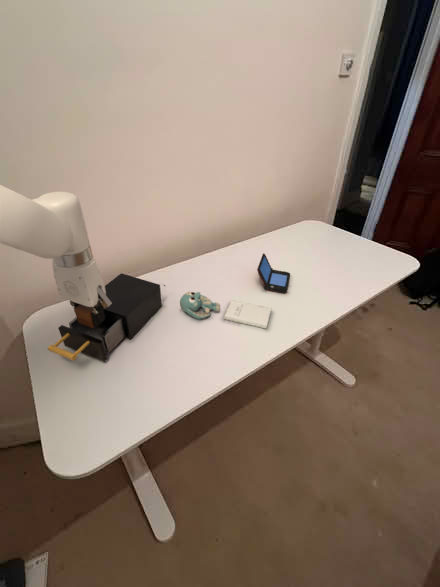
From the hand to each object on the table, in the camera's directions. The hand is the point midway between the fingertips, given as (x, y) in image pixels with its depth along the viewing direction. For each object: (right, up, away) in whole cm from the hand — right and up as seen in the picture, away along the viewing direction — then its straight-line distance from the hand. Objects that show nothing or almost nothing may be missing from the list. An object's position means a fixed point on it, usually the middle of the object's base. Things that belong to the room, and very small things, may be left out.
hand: (91, 319), depth 74 cm
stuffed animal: (+25, +1, +18) cm, 31 cm away
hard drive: (+40, -1, +17) cm, 43 cm away
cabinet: (+5, 0, +14) cm, 15 cm away
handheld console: (+50, +10, +32) cm, 60 cm away
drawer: (0, -6, +4) cm, 8 cm away
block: (0, 0, 0) cm, 0 cm away
